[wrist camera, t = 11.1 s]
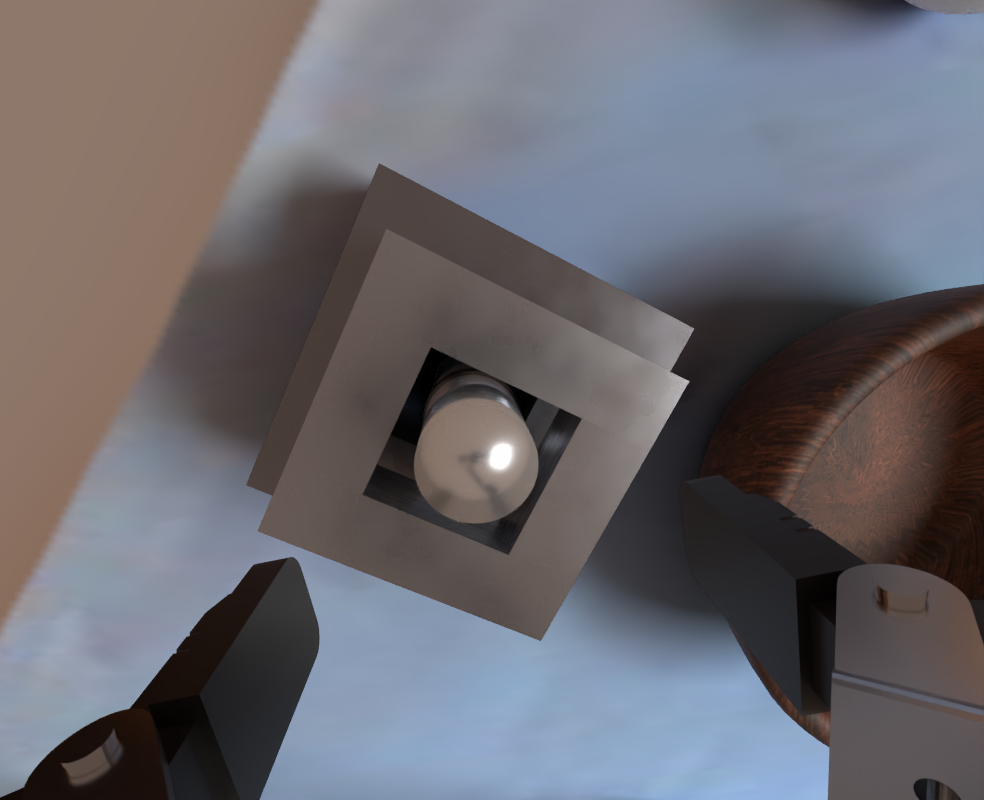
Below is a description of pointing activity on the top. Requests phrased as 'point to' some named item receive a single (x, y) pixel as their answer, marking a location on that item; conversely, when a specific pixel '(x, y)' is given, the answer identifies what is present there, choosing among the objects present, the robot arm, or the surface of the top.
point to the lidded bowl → (950, 6)
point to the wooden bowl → (871, 441)
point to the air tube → (473, 446)
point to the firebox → (491, 349)
